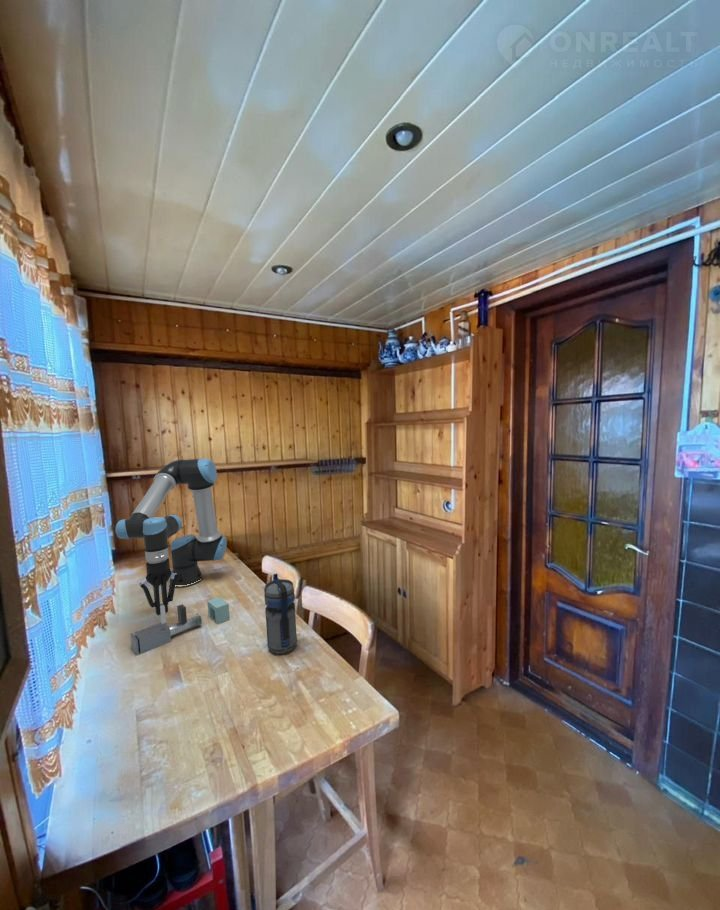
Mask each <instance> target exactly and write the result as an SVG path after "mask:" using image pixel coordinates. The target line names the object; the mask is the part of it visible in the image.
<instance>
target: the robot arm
mask: <svg viewBox="0 0 720 910" xmlns="http://www.w3.org/2000/svg"><path fill="white" fill-rule="evenodd" d="M217 473H218V472H217V467H216V465H215V463H214V462H213V460H211V459H209V458H193V459H189V458H188V459H176V460H174V461H171V462H170V463H169V462H168V464H166V465H164V466H163V467H162V468H161V469H160V470H158V471H157V473H156V474H155V476H154V477H153V482H152V484H151V485H150V487H149V488H148V490H147V491H146V492H145V494H144V496H143V497H142V498H141V500H140V501H139V503H138V505H137V506H136V507H135V509H134V510H133V512H132V513H131V515H130V516H129V517H128V518H124V519H120V520H119V521H118V522H117V523H116V524H115V534H116V536H117V538H119V539H120V540H121V539H122V540H133V539H143V542H144V554H145V555H144V556H145V562H146V563H145V568H146V576H145V580H143V581H142V582H139V584H138V585H139V587H140V588H142V590H143V592H144V595H145V597H146V599H147V602H148V605H149V606H150V608H155V615H156V616H158V621H159V623H161V624H164V623H166V624H167V616H166V614H167V613H168V612H169V603H170V602H173V599H174V596H175V588H176V587H175V585H187V584H191V583H194V582H196V581H198V580H200V579H201V578H202V579H203V574H202V571H201V569H200V567H199V564H198V562H207V561H208V562H211V561H214V562H215V561H221V560H222V559H223V558H224V557H225V554H226V552H227V551H226V550H227V546H228V539H227V537H226V536H223V535H222V532H221V531H220V530H218V524H217V518H216V512H215V505H214V499H213V492H212V488H213V486H214V485H215V484H214V483H216V481H217V479H218V478H217V477H218V475H217ZM178 485H187V488H188V490H189V491H191V492H192V497H193V503H194V508H195V509H194V510H195V515H196V520H197V526H198V531H199V533H198V535H197V537H196V535H195V534H187V535H186V534H185V535H182V536H179V537H178V538H175V539H173V540H172V541H171V543H170V553H171V562H172V563H170V558H169V557H170V556H169V554H170V553H169V544H168V542H169V541H168V539H169V538H170V537H172V536H174V535H176V534H177V533H178V532H179V531H180V530H181V528H182V525H183V523H182V522H183V521H182V519H181V518H180V517H179V516H178V515H175V514H170V515H166V516H165V517H164V516H156V517H155V515H156V514H157V511H158V510H159V509H160V507H161V505H162V504H163V502H164V500H165V499H166V497H167V495H168V494H169V492H170V491H172V490H173V489H174V488H175V487H176V486H178ZM171 564H172V570H171ZM168 581H169V586H168V585H167V582H168ZM149 584H150V585H151V586H152V588H153V598H154V600H153V598H152V595H151V592H150V590H149V588H148V586H149ZM167 586H168V587H169V588H168V589H167ZM160 590H161V591H160ZM160 592H161V597H160ZM161 600H162V601H161ZM161 602H162V603H161Z"/></svg>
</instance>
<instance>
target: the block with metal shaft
mask: <svg viewBox="0 0 720 910" xmlns="http://www.w3.org/2000/svg"><path fill="white" fill-rule="evenodd" d="M176 609H177V611H176V612H177V619H178V621H177V623H174V624H171V625H168V626H169V627H170V635H171V637H173V636H175V635H177V634H180V633H182V632H186V631H187V630H191V629H192V628H195V627H198V626H200V625H203V618H202V616H201V615H200V614H198V615H195V616H193V617H190V618H187V607H186V606H185V605H184V604H180V605H176ZM137 640H138V639H137ZM138 649H139V650H140V647H139V640H138Z"/></svg>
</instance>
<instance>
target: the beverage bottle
mask: <svg viewBox="0 0 720 910" xmlns="http://www.w3.org/2000/svg"><path fill="white" fill-rule="evenodd" d="M278 575H279V574H278V573H273V575H272V576H273V579H272V580H271V581H269V582H267V583H266V584H265V585H264V588H263V590H264V592H263V593H264V594H263V595H264V604H265V608H264V610H265V611H264V613H265V622H266V623H265V624H266V639H267V640H266V643H267V646H266V647H267V649H268V650H269V651H270V652H271V653H272V654H275V655H283V654H286V653H289V652H291V651H293V650H294V649H295V647H296V645H297V643H298V640H297V639H298V638H297V635H298V634H297V619H296V618H297V616H296V605H295V603H294V601H295V599H296V595H295V589H294V583H293V581H291V580H289V579H279V578H278V577H279V576H278Z"/></svg>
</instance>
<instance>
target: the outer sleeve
mask: <svg viewBox="0 0 720 910" xmlns="http://www.w3.org/2000/svg"><path fill="white" fill-rule="evenodd" d="M169 626H170V625H168V624H167V622H166V623H164V624H161V623H160V622H159V623H156V624H153V625H151V626H148V627H145V628H143V629H140V630H137V631H135V632H134V633H133V632H132V633H130V635H129V636H130V644H131V649H132V651H133V652H134V654H135V656H139V655H141V654H144V653H147V652H149V651H151V650H154V649H156V648H159V647H161V646H164V645H167V644H168V643H171V642H172V636H171V635H170V627H169ZM137 639H138V640H139V647H140V648H139V649H138V640H137Z"/></svg>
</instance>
